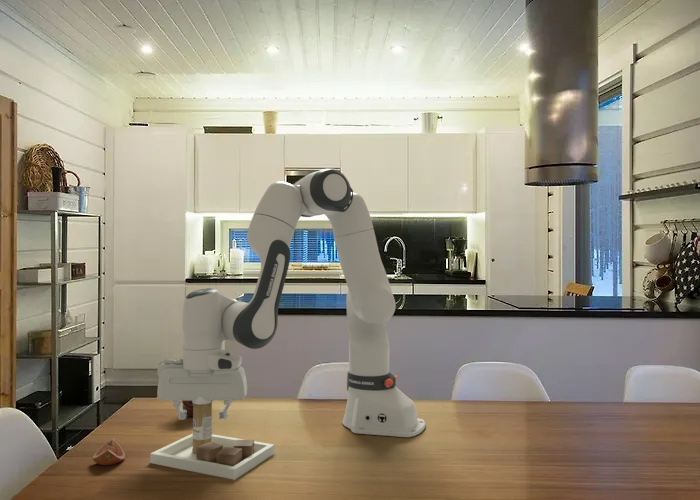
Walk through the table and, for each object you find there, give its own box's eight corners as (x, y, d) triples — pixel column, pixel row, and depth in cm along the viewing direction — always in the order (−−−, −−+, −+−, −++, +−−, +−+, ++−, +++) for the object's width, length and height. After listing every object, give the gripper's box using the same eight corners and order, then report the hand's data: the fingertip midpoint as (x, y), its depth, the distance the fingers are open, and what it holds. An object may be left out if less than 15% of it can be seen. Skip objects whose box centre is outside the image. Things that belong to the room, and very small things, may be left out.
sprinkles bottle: (188, 451, 134) (188, 393, 133) (205, 446, 137) (205, 390, 137) (199, 456, 131) (199, 397, 130) (216, 451, 134) (216, 393, 134)
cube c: (254, 457, 130) (254, 439, 130) (251, 464, 126) (251, 445, 126) (236, 457, 130) (236, 439, 130) (233, 464, 126) (233, 445, 126)
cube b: (222, 463, 126) (222, 445, 126) (208, 469, 123) (208, 450, 123) (210, 459, 129) (210, 441, 129) (196, 465, 126) (196, 446, 125)
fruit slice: (122, 471, 124) (122, 448, 124) (88, 474, 122) (88, 450, 122) (127, 457, 132) (127, 435, 132) (95, 459, 131) (95, 437, 130)
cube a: (242, 466, 125) (242, 448, 125) (234, 474, 121) (234, 455, 121) (225, 465, 126) (225, 446, 126) (216, 472, 122) (216, 453, 122)
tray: (274, 457, 133) (274, 444, 133) (234, 483, 118) (234, 469, 118) (196, 443, 141) (196, 431, 141) (150, 466, 127) (150, 453, 127)
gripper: (152, 362, 130) (153, 423, 130) (243, 362, 130) (243, 422, 130) (161, 356, 136) (162, 414, 136) (248, 356, 136) (248, 414, 137)
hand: (202, 418), depth 133 cm, fingers open, 8 cm apart
